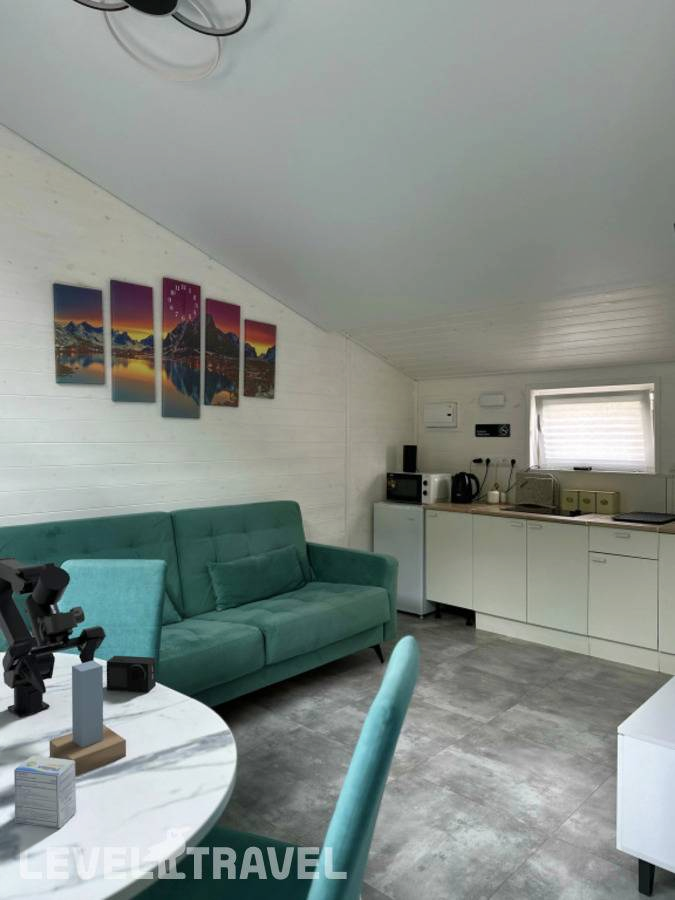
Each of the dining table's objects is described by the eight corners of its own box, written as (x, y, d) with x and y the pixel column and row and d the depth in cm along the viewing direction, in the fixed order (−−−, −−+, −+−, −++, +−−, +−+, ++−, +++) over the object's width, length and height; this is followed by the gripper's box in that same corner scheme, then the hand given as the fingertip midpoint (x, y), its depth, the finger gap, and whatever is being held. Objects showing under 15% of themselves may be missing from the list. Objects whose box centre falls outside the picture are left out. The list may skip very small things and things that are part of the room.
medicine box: (77, 813, 101) (76, 759, 101) (59, 830, 97) (58, 774, 96) (33, 807, 102) (32, 754, 102) (13, 824, 98) (13, 768, 98)
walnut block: (49, 756, 118) (49, 740, 118) (101, 737, 126) (101, 723, 126) (72, 776, 112) (72, 759, 111) (125, 755, 119) (125, 740, 119)
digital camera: (103, 692, 148) (103, 663, 148) (114, 683, 153) (114, 654, 153) (146, 695, 146) (145, 665, 146) (155, 686, 152) (155, 657, 152)
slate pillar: (72, 740, 118) (71, 666, 118) (93, 733, 121) (92, 660, 121) (82, 747, 116) (81, 671, 115) (103, 740, 119) (102, 665, 118)
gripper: (6, 604, 120) (29, 677, 113) (101, 587, 134) (127, 652, 126) (-7, 636, 126) (14, 708, 119) (85, 616, 139) (109, 680, 132)
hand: (68, 685), depth 124 cm, fingers open, 9 cm apart
